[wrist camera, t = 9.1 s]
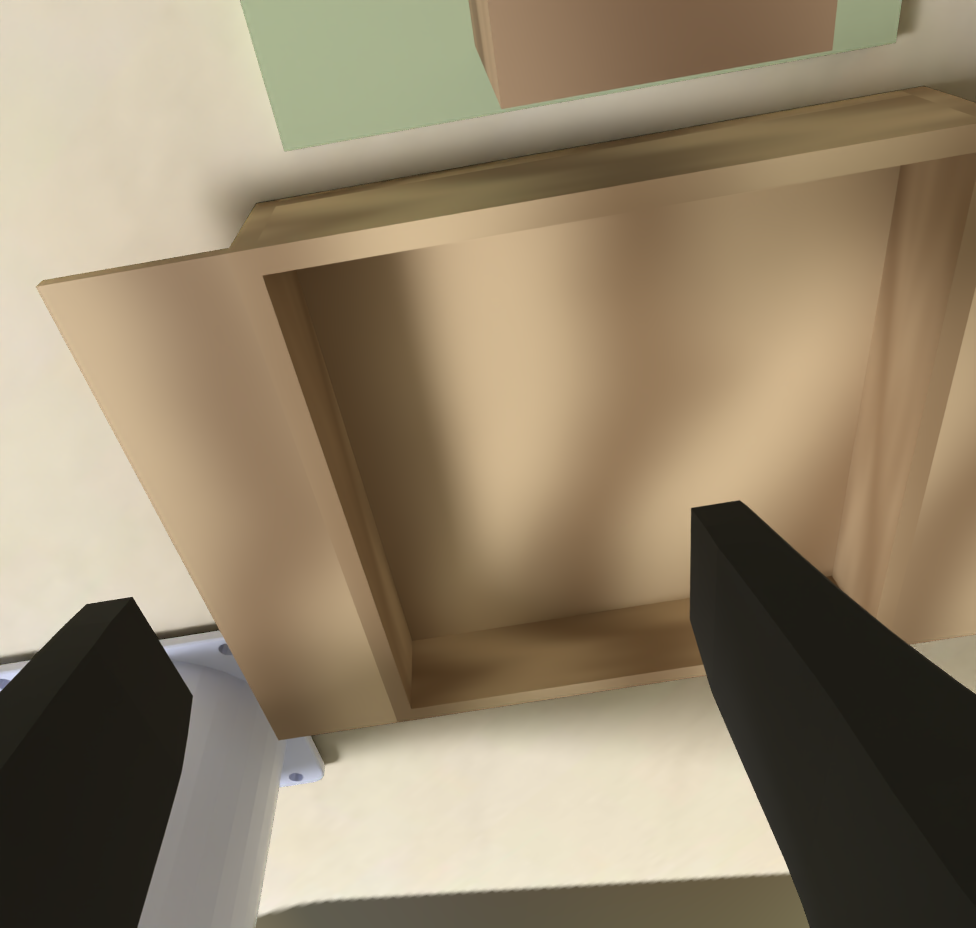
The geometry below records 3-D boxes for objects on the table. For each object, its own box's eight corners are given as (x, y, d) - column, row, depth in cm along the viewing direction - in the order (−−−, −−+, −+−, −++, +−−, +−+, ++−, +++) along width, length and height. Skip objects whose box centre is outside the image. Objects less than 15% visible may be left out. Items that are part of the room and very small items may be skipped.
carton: (293, 658, 24) (278, 740, 22) (95, 231, 16) (36, 287, 14) (951, 555, 23) (1012, 628, 21) (1097, 55, 15) (1224, 80, 13)
